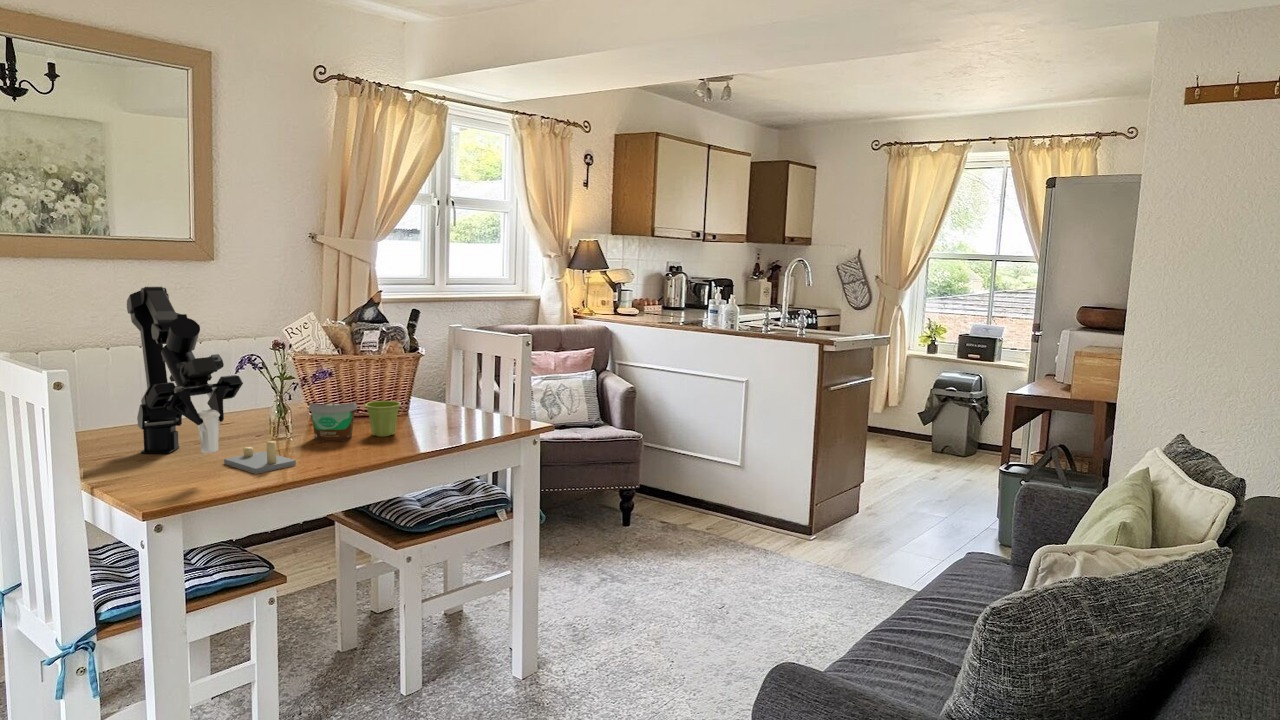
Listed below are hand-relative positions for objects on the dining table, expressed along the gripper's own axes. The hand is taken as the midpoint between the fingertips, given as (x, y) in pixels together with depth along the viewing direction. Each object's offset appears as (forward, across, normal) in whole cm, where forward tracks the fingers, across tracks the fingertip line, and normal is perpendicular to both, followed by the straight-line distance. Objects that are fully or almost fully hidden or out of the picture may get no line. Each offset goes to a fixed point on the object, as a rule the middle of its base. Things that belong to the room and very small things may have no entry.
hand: (211, 422), depth 178 cm
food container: (0, +40, +19) cm, 44 cm away
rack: (+6, +14, +13) cm, 20 cm away
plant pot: (+3, +53, +16) cm, 56 cm away
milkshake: (+4, 0, +6) cm, 7 cm away
